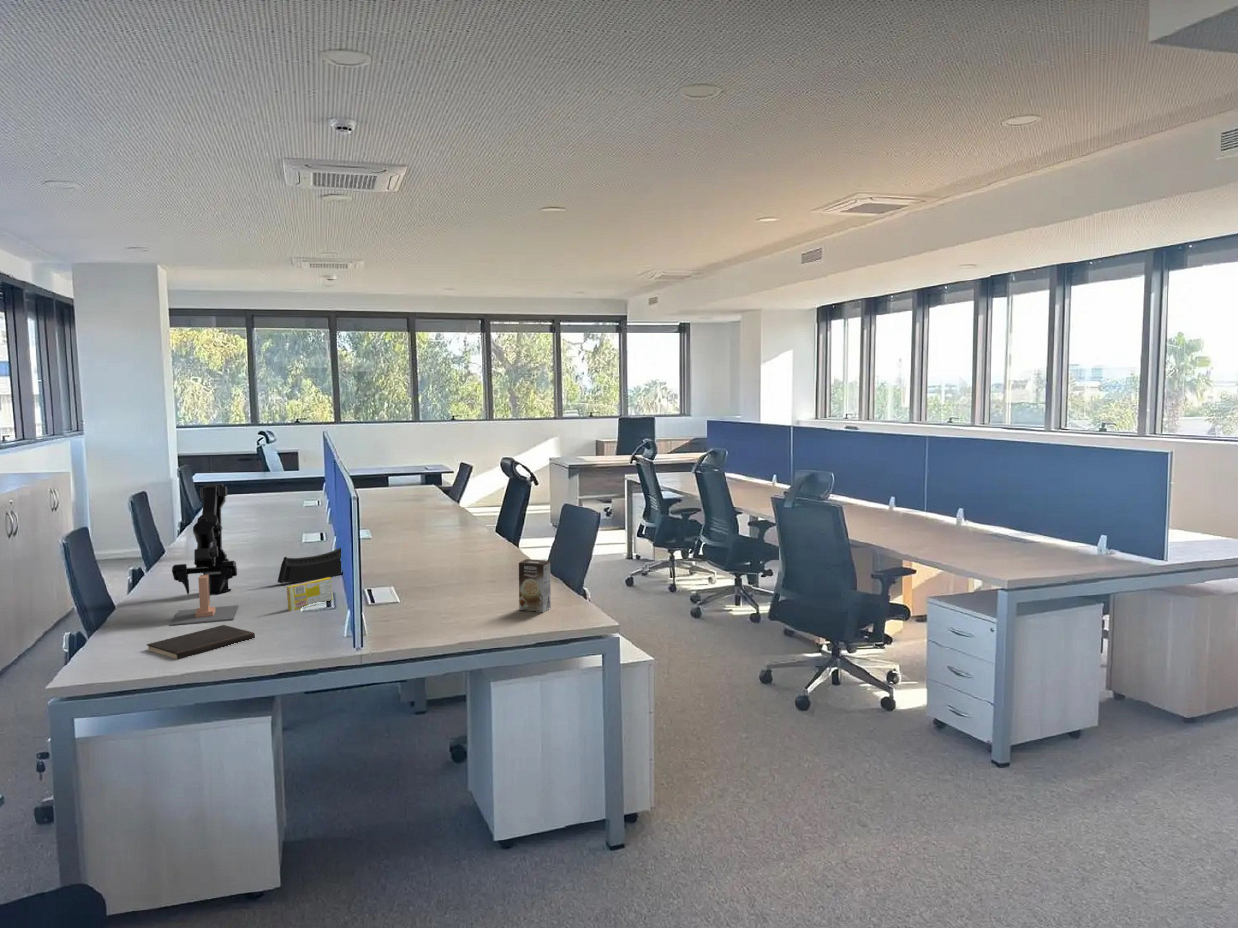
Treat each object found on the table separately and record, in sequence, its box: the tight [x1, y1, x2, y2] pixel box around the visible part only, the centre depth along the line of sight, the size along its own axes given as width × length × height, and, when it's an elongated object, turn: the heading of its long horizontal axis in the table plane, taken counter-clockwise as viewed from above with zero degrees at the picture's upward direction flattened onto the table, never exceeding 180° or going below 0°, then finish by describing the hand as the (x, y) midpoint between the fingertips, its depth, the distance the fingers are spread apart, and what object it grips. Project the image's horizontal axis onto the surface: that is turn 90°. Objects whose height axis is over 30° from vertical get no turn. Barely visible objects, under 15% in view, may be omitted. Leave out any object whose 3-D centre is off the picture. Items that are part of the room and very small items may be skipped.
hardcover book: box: [146, 624, 256, 661], centre depth 242 cm, size 16×23×2 cm
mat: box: [169, 604, 239, 627], centre depth 273 cm, size 18×18×1 cm
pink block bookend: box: [195, 574, 216, 618], centre depth 272 cm, size 6×5×12 cm
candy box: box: [286, 577, 334, 612], centre depth 284 cm, size 16×2×8 cm, turn 144°
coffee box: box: [518, 558, 552, 613], centre depth 275 cm, size 9×6×16 cm
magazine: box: [277, 547, 342, 584], centre depth 325 cm, size 17×3×30 cm
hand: (203, 592), depth 271 cm, fingers open, 9 cm apart
